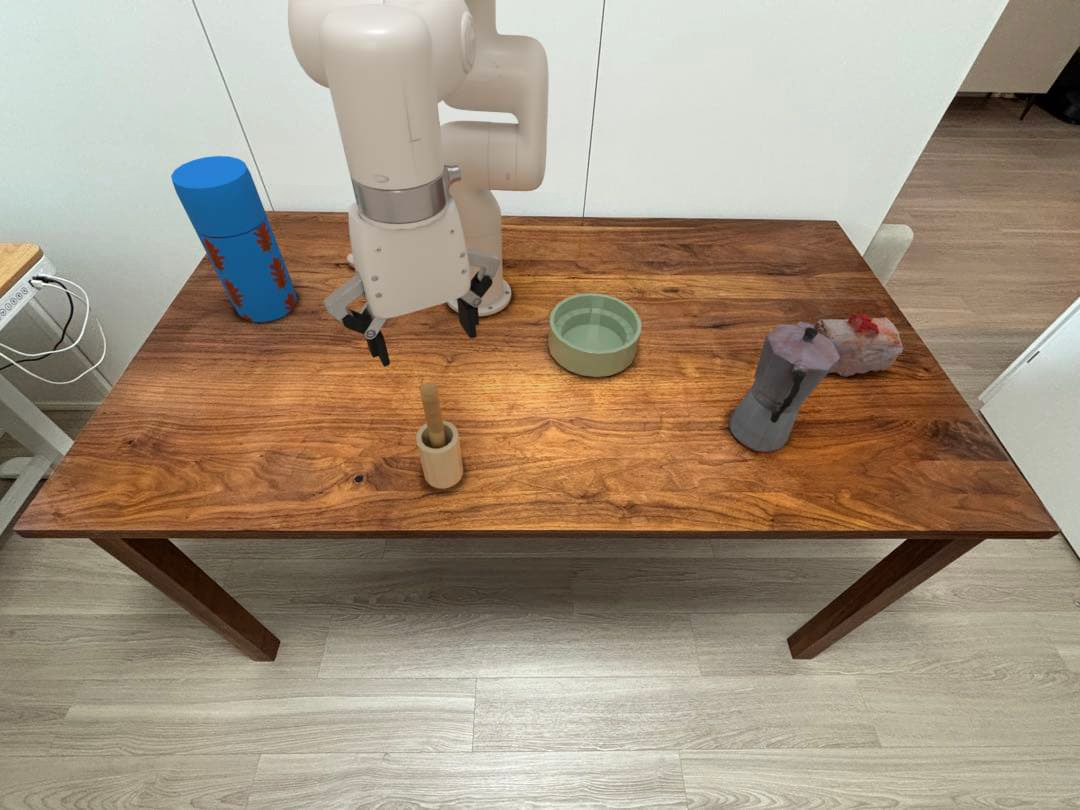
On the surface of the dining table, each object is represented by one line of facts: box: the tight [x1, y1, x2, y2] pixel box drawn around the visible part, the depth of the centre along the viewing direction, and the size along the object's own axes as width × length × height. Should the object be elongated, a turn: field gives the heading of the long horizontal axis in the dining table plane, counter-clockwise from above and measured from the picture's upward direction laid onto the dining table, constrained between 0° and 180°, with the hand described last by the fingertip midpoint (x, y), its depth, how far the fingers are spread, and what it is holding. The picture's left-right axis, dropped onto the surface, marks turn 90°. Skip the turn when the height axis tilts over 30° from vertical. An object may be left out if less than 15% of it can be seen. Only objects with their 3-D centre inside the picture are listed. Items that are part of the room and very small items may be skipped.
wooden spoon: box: [419, 382, 447, 449], centre depth 69 cm, size 3×2×18 cm
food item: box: [813, 313, 904, 378], centre depth 90 cm, size 14×8×10 cm, turn 96°
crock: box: [415, 419, 464, 489], centre depth 73 cm, size 5×6×9 cm
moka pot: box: [728, 320, 840, 453], centre depth 76 cm, size 10×15×20 cm, turn 161°
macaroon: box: [346, 252, 355, 269], centre depth 108 cm, size 4×5×2 cm
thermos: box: [170, 155, 298, 323], centre depth 90 cm, size 11×11×25 cm
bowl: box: [547, 292, 642, 378], centre depth 92 cm, size 15×15×6 cm
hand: (426, 343), depth 57 cm, fingers open, 9 cm apart
